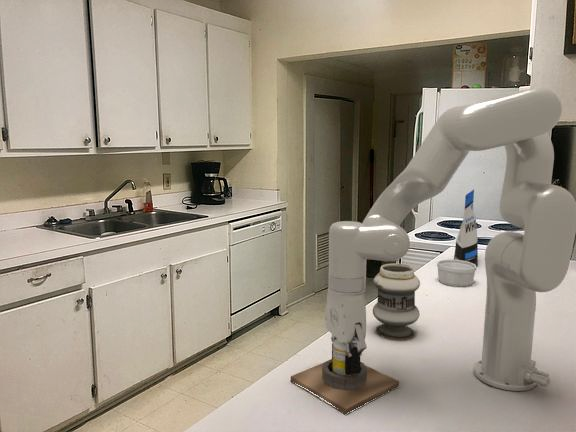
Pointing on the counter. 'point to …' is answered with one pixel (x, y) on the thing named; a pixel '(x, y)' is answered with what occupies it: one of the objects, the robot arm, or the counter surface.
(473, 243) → the protein powder
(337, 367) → the supplement bottle
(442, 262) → the ramekin
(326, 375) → the stand board
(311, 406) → the counter surface
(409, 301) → the apothecary jar
